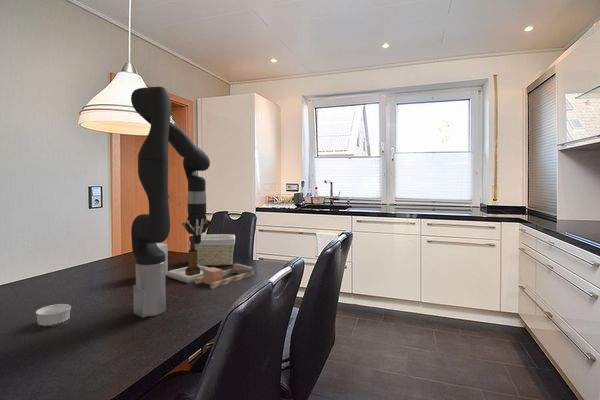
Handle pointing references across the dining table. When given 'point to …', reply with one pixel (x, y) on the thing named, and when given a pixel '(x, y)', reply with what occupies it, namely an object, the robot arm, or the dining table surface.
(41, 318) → the ramekin
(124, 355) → the dining table surface
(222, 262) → the storage basket
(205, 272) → the orange brown block
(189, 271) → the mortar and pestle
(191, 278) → the tray
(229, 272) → the rail
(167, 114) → the robot arm
